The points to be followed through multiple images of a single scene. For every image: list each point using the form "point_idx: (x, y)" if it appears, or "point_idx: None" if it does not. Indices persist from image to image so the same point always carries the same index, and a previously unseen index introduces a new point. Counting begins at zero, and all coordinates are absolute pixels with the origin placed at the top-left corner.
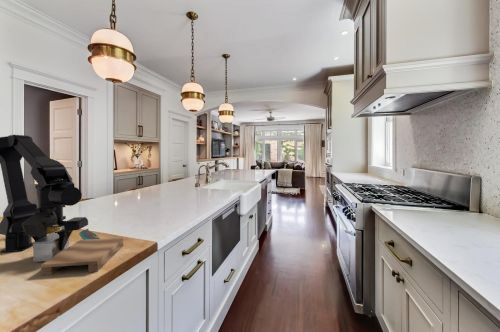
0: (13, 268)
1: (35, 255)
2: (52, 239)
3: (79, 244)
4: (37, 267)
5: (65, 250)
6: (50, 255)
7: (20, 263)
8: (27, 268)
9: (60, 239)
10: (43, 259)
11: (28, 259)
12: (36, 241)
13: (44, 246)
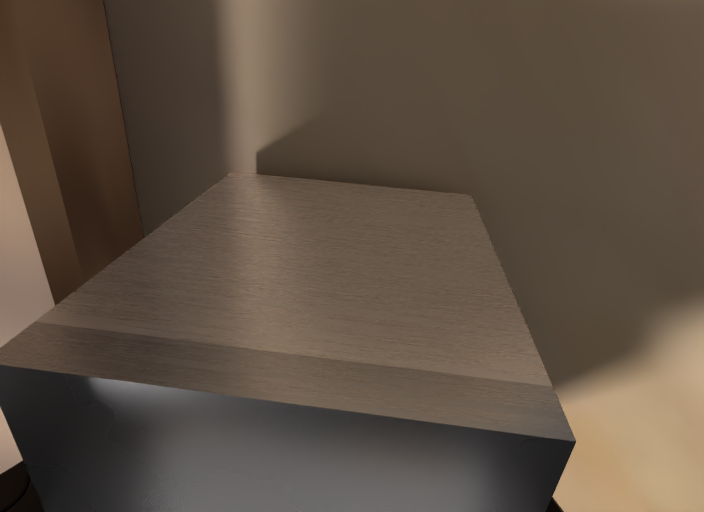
0: (680, 63)
1: (456, 232)
2: (122, 507)
3: (7, 427)
4: (333, 17)
5: (11, 255)
6: (221, 198)
7: (647, 225)
8: (464, 12)
9: (29, 499)
10: (341, 192)
11: (594, 322)
12: (499, 487)
13: (255, 296)
